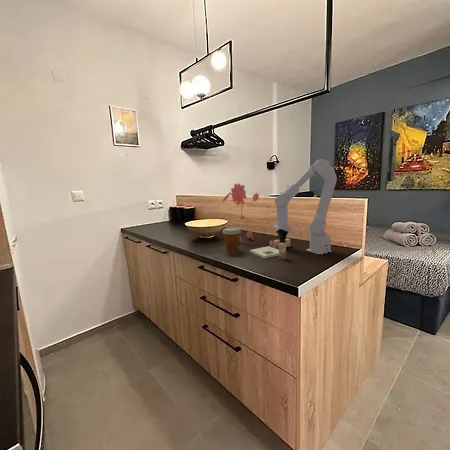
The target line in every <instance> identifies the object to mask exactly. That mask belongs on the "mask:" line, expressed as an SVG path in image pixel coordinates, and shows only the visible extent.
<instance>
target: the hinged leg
mask: <svg viewBox="0 0 450 450" xmlns="http://www.w3.org/2000/svg"><path fill="white" fill-rule="evenodd" d="M279 243H280V239H271V240H269V246H270V247H273V248H275V249H279ZM285 243H286V248H287V247H291V238H286V239H285Z"/></svg>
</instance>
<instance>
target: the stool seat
mask: <svg viewBox="0 0 450 450" xmlns="http://www.w3.org/2000/svg"><path fill="white" fill-rule="evenodd" d="M249 253H250V254H253V255H255V256H257V257H260V258H261V259H268V258H273V257H279V248H273V247H270V245H268V246H263V247H257V248H253V249H249Z"/></svg>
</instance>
